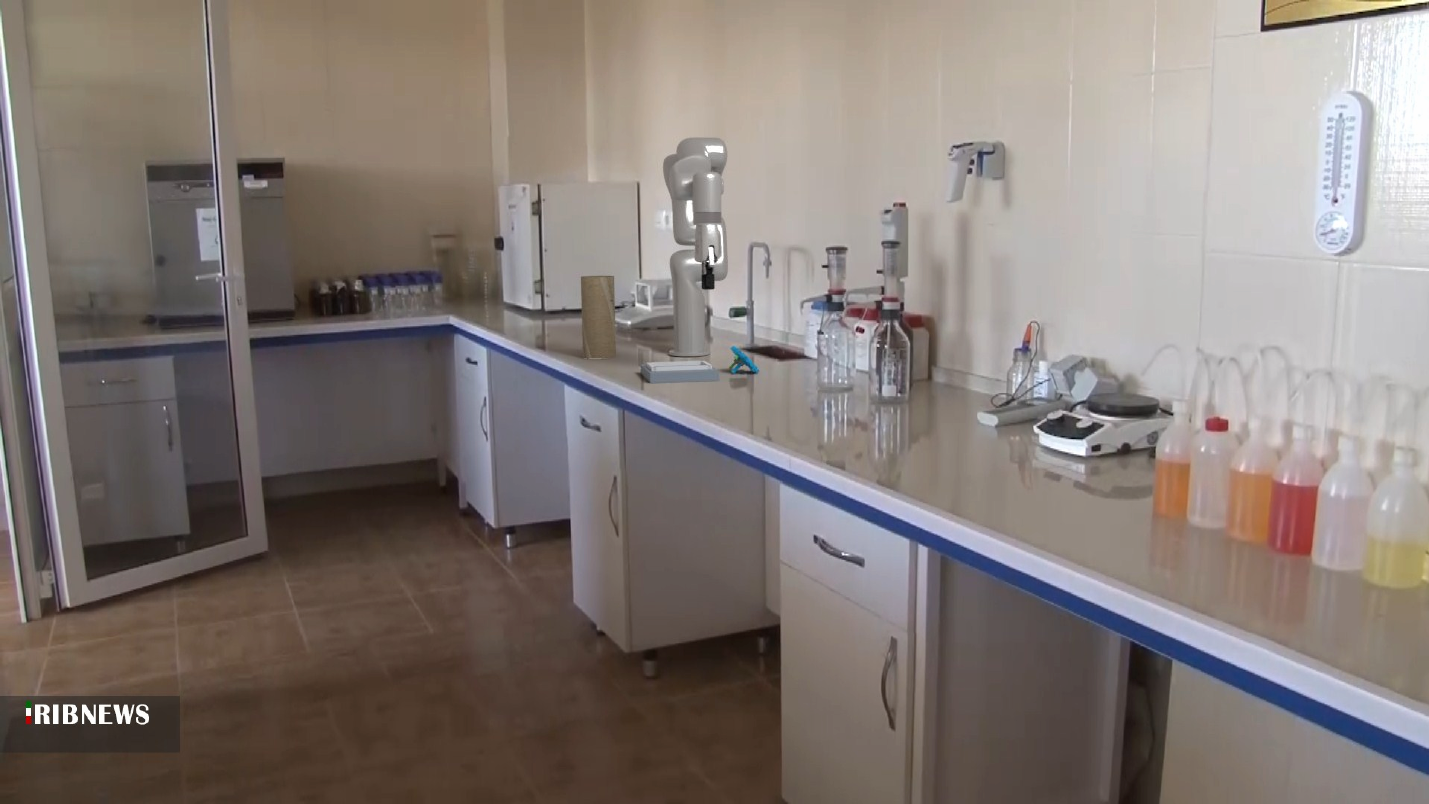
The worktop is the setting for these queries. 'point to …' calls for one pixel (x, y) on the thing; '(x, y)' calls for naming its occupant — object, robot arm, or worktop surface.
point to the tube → (598, 316)
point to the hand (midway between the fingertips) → (708, 289)
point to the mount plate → (679, 371)
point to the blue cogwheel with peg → (741, 361)
